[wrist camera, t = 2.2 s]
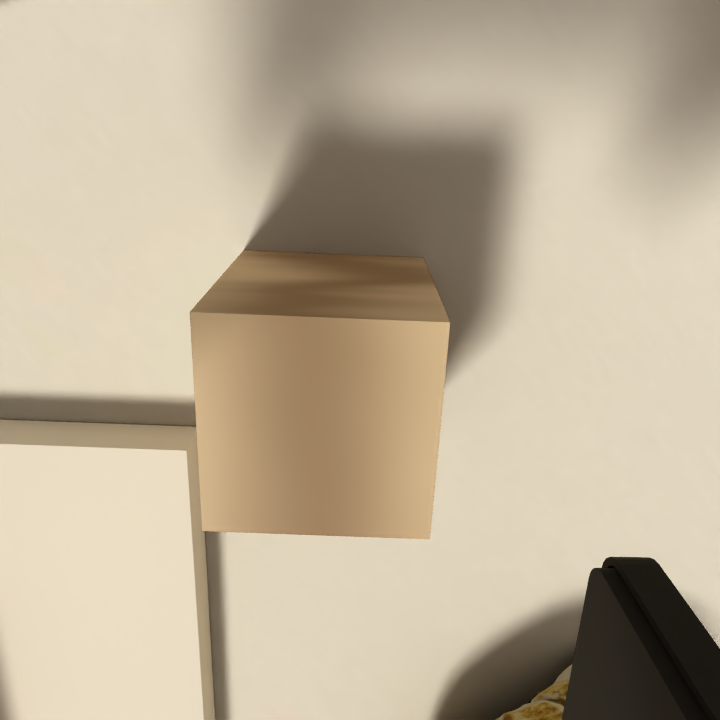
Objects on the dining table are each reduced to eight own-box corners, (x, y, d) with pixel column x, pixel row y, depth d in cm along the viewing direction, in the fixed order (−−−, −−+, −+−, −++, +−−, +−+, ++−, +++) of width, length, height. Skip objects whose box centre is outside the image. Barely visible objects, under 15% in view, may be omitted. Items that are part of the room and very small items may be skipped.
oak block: (423, 257, 18) (450, 322, 12) (411, 418, 20) (429, 539, 14) (243, 250, 18) (189, 311, 12) (247, 412, 20) (202, 531, 14)
